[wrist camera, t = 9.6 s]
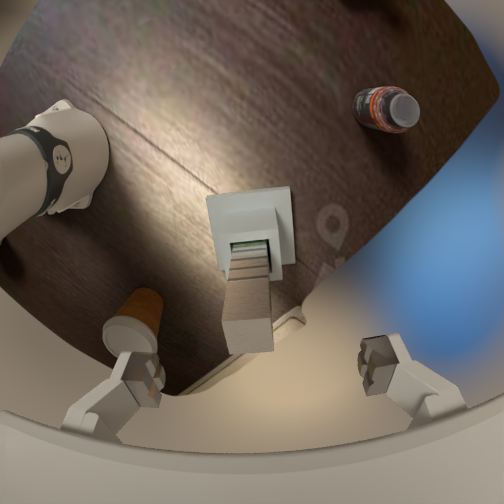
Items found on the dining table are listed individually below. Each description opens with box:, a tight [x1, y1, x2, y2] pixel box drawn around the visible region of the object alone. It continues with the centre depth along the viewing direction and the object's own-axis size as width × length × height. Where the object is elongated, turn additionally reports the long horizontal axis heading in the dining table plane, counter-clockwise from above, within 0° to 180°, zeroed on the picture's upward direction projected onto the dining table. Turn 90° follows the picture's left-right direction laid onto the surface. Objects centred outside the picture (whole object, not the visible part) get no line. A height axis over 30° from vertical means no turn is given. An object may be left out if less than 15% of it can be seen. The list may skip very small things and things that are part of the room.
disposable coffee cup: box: [103, 287, 164, 358], centre depth 48 cm, size 10×10×12 cm
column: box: [221, 239, 274, 354], centre depth 32 cm, size 4×4×16 cm
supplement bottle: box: [353, 86, 420, 133], centre depth 32 cm, size 6×6×11 cm
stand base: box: [206, 186, 295, 281], centre depth 41 cm, size 12×12×10 cm
